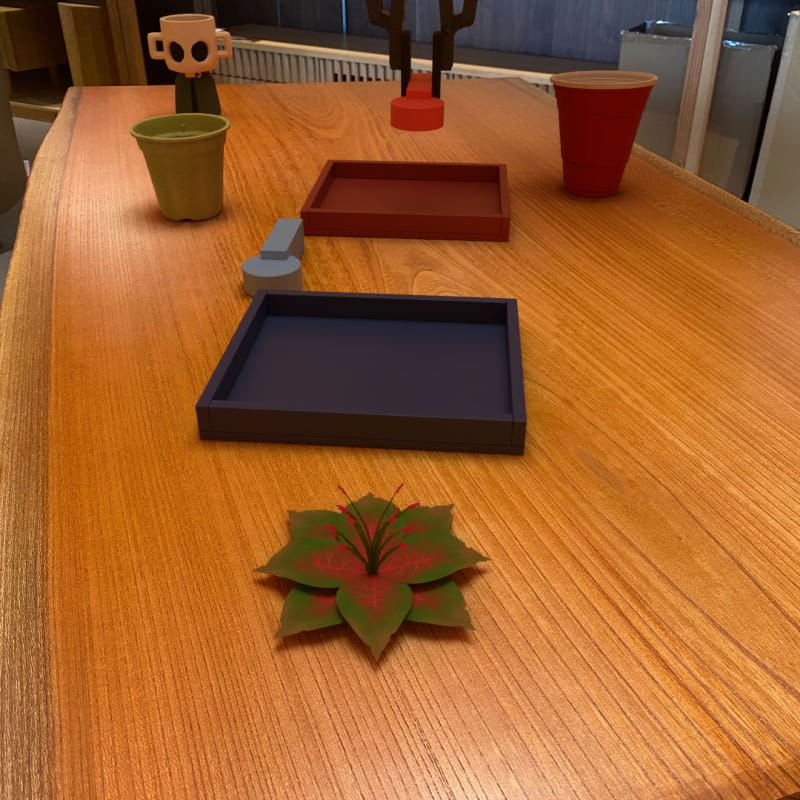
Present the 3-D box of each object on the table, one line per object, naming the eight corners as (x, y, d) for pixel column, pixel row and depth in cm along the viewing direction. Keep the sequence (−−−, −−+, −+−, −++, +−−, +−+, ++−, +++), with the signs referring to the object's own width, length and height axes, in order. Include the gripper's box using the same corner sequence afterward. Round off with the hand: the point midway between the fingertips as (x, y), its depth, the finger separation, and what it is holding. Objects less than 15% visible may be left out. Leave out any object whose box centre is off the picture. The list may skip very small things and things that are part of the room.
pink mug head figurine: (155, 126, 113) (140, 22, 107) (163, 113, 119) (148, 14, 113) (237, 124, 114) (226, 21, 107) (240, 112, 120) (230, 13, 113)
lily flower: (236, 679, 36) (224, 602, 33) (260, 501, 46) (253, 432, 44) (514, 667, 36) (522, 591, 34) (478, 494, 47) (482, 426, 44)
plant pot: (180, 236, 79) (167, 143, 75) (126, 213, 85) (110, 125, 80) (258, 211, 85) (249, 124, 81) (202, 190, 91) (191, 108, 86)
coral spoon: (446, 103, 83) (447, 73, 81) (442, 132, 74) (443, 99, 72) (398, 102, 83) (398, 72, 82) (388, 130, 74) (388, 97, 72)
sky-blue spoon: (318, 248, 77) (317, 219, 75) (296, 300, 68) (294, 267, 66) (267, 246, 77) (264, 217, 76) (237, 298, 68) (234, 265, 66)
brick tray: (504, 185, 92) (506, 163, 91) (508, 241, 78) (510, 216, 77) (328, 180, 94) (327, 159, 92) (301, 235, 80) (299, 210, 78)
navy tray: (514, 326, 64) (517, 298, 62) (523, 455, 50) (527, 421, 48) (260, 316, 65) (257, 288, 64) (199, 439, 51) (194, 406, 50)
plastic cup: (608, 169, 97) (622, 59, 91) (660, 198, 89) (681, 79, 82) (523, 178, 94) (531, 66, 88) (568, 209, 86) (582, 87, 79)
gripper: (324, -198, 65) (336, 114, 78) (522, -199, 64) (501, 117, 77) (338, -192, 71) (347, 95, 84) (518, -193, 70) (499, 98, 83)
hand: (420, 105), depth 80 cm, fingers closed on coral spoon, 2 cm apart
